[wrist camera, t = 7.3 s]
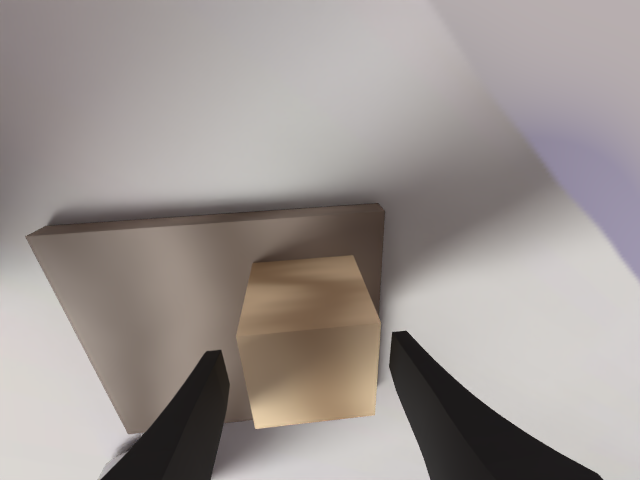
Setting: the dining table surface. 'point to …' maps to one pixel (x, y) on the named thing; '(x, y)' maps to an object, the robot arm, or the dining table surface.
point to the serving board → (185, 290)
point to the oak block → (308, 342)
